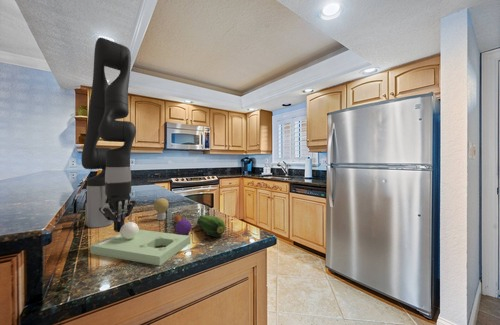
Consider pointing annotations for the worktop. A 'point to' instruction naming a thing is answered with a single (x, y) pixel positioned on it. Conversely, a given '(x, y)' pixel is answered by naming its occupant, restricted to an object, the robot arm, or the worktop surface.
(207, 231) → the vegetable
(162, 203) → the light bulb
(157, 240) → the putting board
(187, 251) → the worktop surface
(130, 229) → the ball
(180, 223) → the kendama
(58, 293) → the worktop surface
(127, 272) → the worktop surface
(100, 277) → the worktop surface
